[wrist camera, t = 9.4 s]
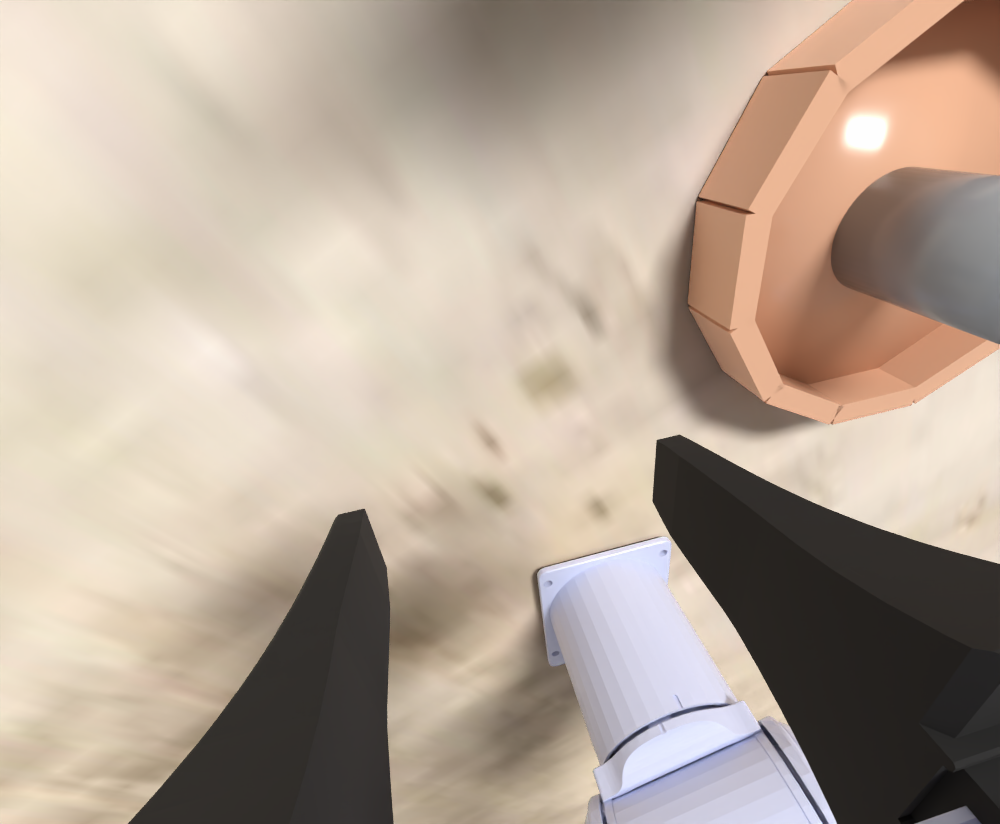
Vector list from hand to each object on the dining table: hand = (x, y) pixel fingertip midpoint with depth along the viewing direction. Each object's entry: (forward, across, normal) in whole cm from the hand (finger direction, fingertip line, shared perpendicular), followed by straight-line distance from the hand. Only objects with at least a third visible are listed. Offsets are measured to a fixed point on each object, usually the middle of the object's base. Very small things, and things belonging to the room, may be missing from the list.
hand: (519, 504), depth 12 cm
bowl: (+9, -18, -2) cm, 20 cm away
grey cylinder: (+8, -18, -2) cm, 20 cm away
